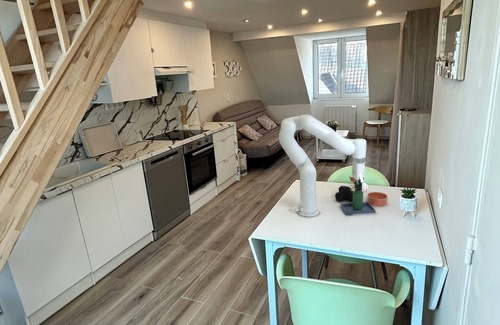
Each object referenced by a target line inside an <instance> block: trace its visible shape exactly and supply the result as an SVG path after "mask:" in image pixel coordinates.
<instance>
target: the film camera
mask: <svg viewBox="0 0 500 325" xmlns="http://www.w3.org/2000/svg"><path fill="white" fill-rule="evenodd" d="M350 188H351V187H350V186H349V185H340V186H339V187H338V188H337V190H338V191H337V192H335V193H334V198H335V200H336V201H337V202H342V201H343V202H344V201H345V202H346V201H347V202H348V203H353V191H354V190H351V189H350Z"/></svg>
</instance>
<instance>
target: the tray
mask: <svg viewBox="0 0 500 325" xmlns="http://www.w3.org/2000/svg"><path fill="white" fill-rule="evenodd" d="M340 208H341V210H342V211H343V213H344V214H345V216H353V215H363V214H375V213H376V208H374V206H372V205H371V204H370V203H369V202H367V201H363V208H362V209H354V208H353V202H344V203H343V202H342V203H340Z"/></svg>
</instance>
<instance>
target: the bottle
mask: <svg viewBox="0 0 500 325" xmlns="http://www.w3.org/2000/svg"><path fill="white" fill-rule="evenodd" d="M359 181H360V180H359ZM356 184H357V180H356ZM352 191H353V202H352V203H353V208H354V209H362V208H363V202H364V192H363V191H362V190H359V191H357V190H356V188H354V190H352Z"/></svg>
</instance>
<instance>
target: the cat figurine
mask: <svg viewBox="0 0 500 325" xmlns="http://www.w3.org/2000/svg"><path fill="white" fill-rule="evenodd" d="M348 177H349V180H350V182H352V183H353V185H354V184H355V181H354V180H355V179H354V178H353V176H350V175H349V176H348ZM350 189H351V191H353V189H355V188H354V186H352V187H350ZM368 190H369V186H368V183H366V182H363V183H362V191H363V193H365V192H367V191H368Z"/></svg>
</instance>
